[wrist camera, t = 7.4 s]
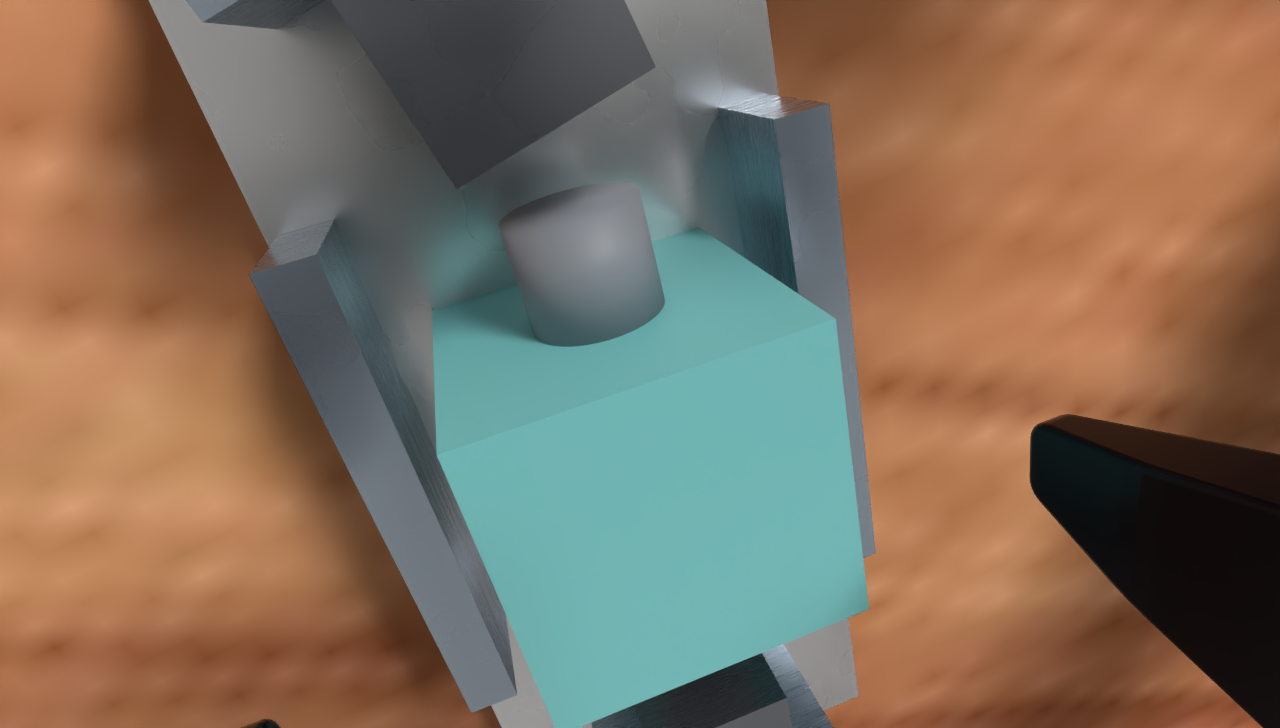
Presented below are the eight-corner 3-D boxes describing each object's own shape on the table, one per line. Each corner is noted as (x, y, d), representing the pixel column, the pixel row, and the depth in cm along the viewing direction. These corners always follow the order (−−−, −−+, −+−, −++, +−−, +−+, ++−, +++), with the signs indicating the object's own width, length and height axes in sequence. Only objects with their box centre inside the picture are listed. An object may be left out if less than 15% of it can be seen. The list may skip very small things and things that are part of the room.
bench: (674, -434, 9) (868, -800, 5) (838, 665, 19) (951, 836, 15) (19, -322, 8) (-372, -674, 4) (543, 788, 18) (579, 1009, 14)
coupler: (681, 135, 11) (820, 185, 7) (754, 508, 15) (877, 681, 11) (395, 219, 11) (379, 323, 7) (541, 588, 14) (588, 804, 10)
